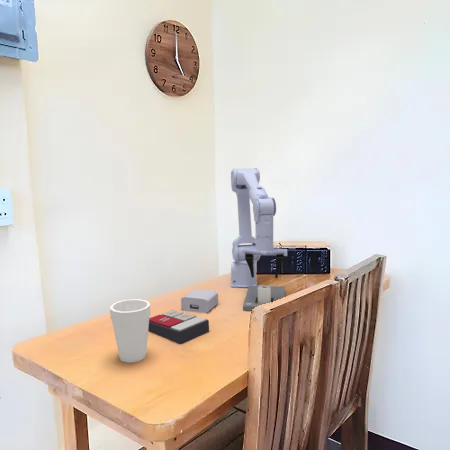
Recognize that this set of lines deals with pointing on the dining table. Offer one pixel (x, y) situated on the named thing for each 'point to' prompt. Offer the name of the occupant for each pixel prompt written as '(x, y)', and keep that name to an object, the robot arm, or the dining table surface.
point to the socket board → (252, 296)
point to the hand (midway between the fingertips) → (264, 277)
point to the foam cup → (131, 328)
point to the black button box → (178, 326)
